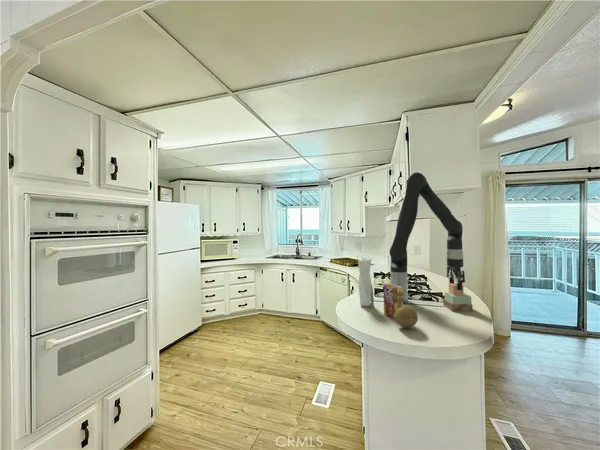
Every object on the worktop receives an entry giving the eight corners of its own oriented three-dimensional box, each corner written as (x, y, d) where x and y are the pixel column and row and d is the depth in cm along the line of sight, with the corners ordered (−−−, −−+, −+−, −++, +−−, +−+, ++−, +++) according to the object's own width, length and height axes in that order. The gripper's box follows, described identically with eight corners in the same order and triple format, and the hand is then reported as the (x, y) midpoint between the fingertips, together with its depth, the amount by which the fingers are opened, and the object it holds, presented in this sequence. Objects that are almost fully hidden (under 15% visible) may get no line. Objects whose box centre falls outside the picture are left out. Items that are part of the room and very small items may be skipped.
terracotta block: (453, 295, 133) (453, 285, 133) (448, 292, 138) (448, 283, 138) (463, 295, 132) (463, 285, 132) (458, 292, 137) (458, 283, 137)
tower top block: (452, 304, 130) (452, 296, 130) (444, 299, 139) (444, 291, 139) (471, 304, 129) (471, 296, 129) (462, 299, 138) (462, 291, 138)
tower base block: (451, 312, 130) (451, 304, 130) (443, 306, 140) (443, 298, 140) (472, 312, 129) (472, 304, 129) (462, 306, 139) (462, 299, 139)
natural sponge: (421, 333, 105) (421, 309, 105) (399, 333, 106) (398, 309, 106) (414, 324, 114) (413, 302, 114) (393, 324, 115) (393, 302, 115)
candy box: (404, 318, 122) (403, 286, 122) (397, 320, 120) (396, 287, 120) (389, 312, 130) (389, 283, 130) (383, 314, 128) (382, 284, 128)
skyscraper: (358, 307, 140) (357, 256, 140) (357, 302, 148) (356, 254, 148) (374, 307, 138) (373, 256, 138) (372, 303, 146) (371, 254, 146)
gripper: (441, 256, 142) (442, 284, 142) (453, 259, 128) (454, 291, 128) (455, 255, 141) (456, 285, 141) (469, 259, 127) (470, 291, 127)
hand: (455, 288), depth 135 cm, fingers open, 8 cm apart
